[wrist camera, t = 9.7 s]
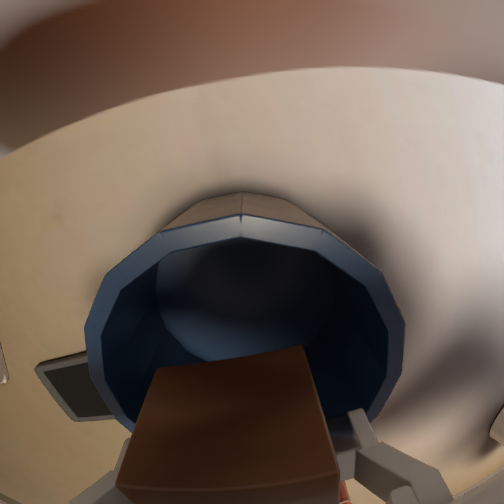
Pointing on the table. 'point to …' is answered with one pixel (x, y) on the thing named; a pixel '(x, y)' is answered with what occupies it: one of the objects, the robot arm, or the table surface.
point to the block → (232, 435)
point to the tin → (245, 305)
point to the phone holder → (3, 369)
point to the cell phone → (74, 388)
